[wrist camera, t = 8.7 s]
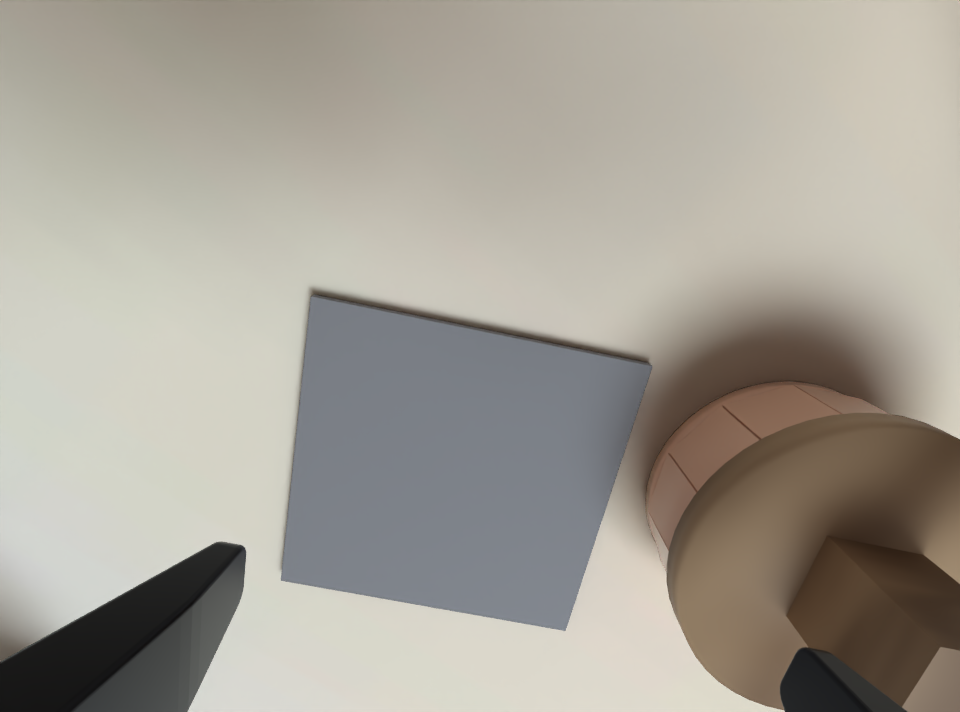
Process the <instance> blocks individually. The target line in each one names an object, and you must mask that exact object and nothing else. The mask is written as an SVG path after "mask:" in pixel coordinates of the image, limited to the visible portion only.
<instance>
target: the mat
mask: <svg viewBox="0 0 960 712" xmlns="http://www.w3.org/2000/svg"><path fill="white" fill-rule="evenodd" d="M651 369H652V365H651V364H650V363H646V362H642V361H637V360H632V359H627V358H622V357H617V356H612V355H607V354H603V353H598V352H593V351H588V350H583V349H578V348H573V347H568V346H564V345H559V344H554V343H549V342H544V341H539V340H534V339H529V338H524V337H520V336H515V335H510V334H505V333H500V332H495V331H490V330H485V329H481V328H476V327H471V326H466V325H461V324H456V323H451V322H446V321H442V320H437V319H432V318H427V317H422V316H417V315H412V314H407V313H402V312H398V311H393V310H388V309H383V308H378V307H373V306H368V305H363V304H359V303H354V302H349V301H344V300H339V299H334V298H329V297H324V296H320V295H313V296H311V300H310V310H309V319H308V329H307V338H306V348H305V357H304V366H303V376H302V385H301V395H300V404H299V414H298V423H297V433H296V442H295V452H294V461H293V470H292V480H291V489H290V499H289V508H288V518H287V527H286V537H285V546H284V556H283V565H282V574H281V581H286V582H292V583H298V584H303V585H309V586H315V587H320V588H326V589H332V590H337V591H343V592H349V593H354V594H360V595H366V596H371V597H377V598H383V599H388V600H394V601H400V602H405V603H411V604H416V605H422V606H428V607H433V608H439V609H445V610H450V611H456V612H462V613H467V614H473V615H479V616H484V617H490V618H496V619H501V620H507V621H513V622H518V623H524V624H529V625H535V626H541V627H546V628H552V629H558V630H563V631H566V628H567V625H568V621H569V618H570V615H571V612H572V609H573V606H574V603H575V600H576V597H577V594H578V591H579V588H580V585H581V582H582V579H583V576H584V573H585V570H586V567H587V564H588V561H589V558H590V555H591V552H592V549H593V546H594V543H595V540H596V536H597V533H598V530H599V527H600V524H601V521H602V518H603V515H604V512H605V509H606V506H607V503H608V500H609V497H610V494H611V491H612V488H613V485H614V482H615V479H616V476H617V473H618V470H619V467H620V464H621V461H622V458H623V454H624V451H625V448H626V445H627V442H628V439H629V436H630V433H631V430H632V427H633V424H634V421H635V418H636V415H637V412H638V409H639V406H640V403H641V400H642V397H643V394H644V391H645V388H646V385H647V382H648V379H649V376H650V373H651Z"/></svg>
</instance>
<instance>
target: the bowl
mask: <svg viewBox="0 0 960 712" xmlns="http://www.w3.org/2000/svg"><path fill="white" fill-rule="evenodd" d="M848 413H883V414H889V413H887V412H885V411H883V410H881V409H879V408H877V407H876V406H874V405H872V404H870V403H868V402H866V401H864V400H862V399H860V398H856V397H851V396H846V395H843V394H841V393H839V392H836V391H834V390H832V389H830V388H826V387H823V386H819V385H815V384H810V383H803V382H772V383H763V384H759V385H754V386H750V387H746V388H743V389H740V390H737V391H734V392H731V393H729V394H727V395H725V396H723V397H721V398H718V399H716V400H714V401H713V402H711V403H709V404H708V405H706V406H705V407H703V408H701V409H700V410H698V411H697V412H696V413H695V414H693V415H692V416H691V417H690V418H688V419H687V420H686V421H685V422H684V423H683V424H682V425H681V426H680V427H679V428H678V429H677V430H676V431H675V432H674V433H673V435H672V436H671V437H670V438H669V440H668V441H667V442H666V444H665V445H664V447H663V448H662V450H661V452H660V453H659V455H658V457H657V459H656V461H655V463H654V466H653V468H652V470H651V473H650V477H649V481H648V484H647V492H646V514H647V519H648V525H649V527H650V530H651V533H652V536H653V538H654V540H655V542H656V544H657V548H658V552H659V555H660V559H661V562H662V564H663V566H664V568H665V570H666V572H667V559H668V553H669V547H670V544H671V541H672V538H673V534H674V531H675V529H676V527H677V525H678V522H679V520H680V518H681V516H682V514H683V512H684V511H685V509H686V508H687V506H688V504H689V503H690V501H691V500H692V498H693V497H694V495H695V494H696V493H697V492H698V491H699V489H700V488H701V487H702V486H703V485H704V483H705V482H706V481H707V480H708V479H709V478H710V477H711V476H712V475H713V474H714V473H715V472H716V471H717V470H718V469H719V468H721V467H722V466H723V465H724V464H725V463H726V462H727V461H729V460H730V459H732V458H733V457H734V456H736V455H737V454H738V453H740V452H741V451H742V450H744V449H745V448H747V447H749V446H750V445H752V444H754V443H756V442H757V441H759V440H761V439H762V438H764V437H766V436H769V435H771V434H773V433H775V432H777V431H780V430H782V429H784V428H786V427H789V426H793V425H796V424H799V423H802V422H805V421H808V420H812V419H816V418H821V417H826V416H831V415H838V414H848ZM890 415H891V414H890Z"/></svg>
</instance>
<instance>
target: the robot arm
mask: <svg viewBox="0 0 960 712" xmlns="http://www.w3.org/2000/svg"><path fill="white" fill-rule="evenodd" d="M245 562H246V550H245V548H244V547H243V546H242V545H238V544H232V543H227V542H216V543H214V544H212V545H210V546H208V547H206V548H205V549H203V550H201V551H199V552H197V553H196V554H194V555H192V556H190V557H188V558H187V559H185V560H183V561H181V562H179V563H178V564H176V565H174V566H172V567H170V568H169V569H167V570H165V571H163V572H161V573H160V574H158V575H156V576H154V577H152V578H151V579H149V580H147V581H145V582H143V583H142V584H140V585H138V586H136V587H134V588H133V589H131V590H129V591H127V592H125V593H124V594H122V595H120V596H118V597H116V598H115V599H113V600H111V601H109V602H107V603H106V604H104V605H102V606H100V607H98V608H97V609H95V610H93V611H91V612H89V613H88V614H86V615H84V616H82V617H80V618H78V619H77V620H75V621H73V622H71V623H69V624H68V625H66V626H64V627H62V628H60V629H59V630H57V631H55V632H53V633H51V634H50V635H48V636H46V637H44V638H42V639H41V640H39V641H37V642H35V643H33V644H32V645H30V646H28V647H26V648H24V649H23V650H21V651H19V652H17V653H15V654H14V655H12V656H10V657H8V658H6V659H5V660H3V661H1V662H0V712H187V711H188V709H189V707H190V705H191V703H192V701H193V699H194V697H195V695H196V693H197V691H198V689H199V687H200V685H201V683H202V681H203V678H204V676H205V674H206V672H207V670H208V668H209V666H210V664H211V662H212V659H213V657H214V655H215V653H216V651H217V649H218V647H219V645H220V643H221V640H222V638H223V636H224V634H225V632H226V630H227V628H228V626H229V624H230V621H231V619H232V617H233V615H234V613H235V611H236V609H237V607H238V604H239V602H240V599H241V596H242V592H243V587H244V574H245ZM780 698H781V702H782V704H783V707H784V710H785V712H908V711H906V710H905V709H904V708H902V707H901V706H900V705H898V704H897V703H896V702H895V701H893V700H892V699H891V698H889V697H888V696H887V695H885V694H884V693H883V692H881V691H880V690H879V689H878V688H876V687H875V686H874V685H872V684H871V683H870V682H868V681H867V680H866V679H864V678H863V677H862V676H861V675H859V674H858V673H857V672H855V671H854V670H853V669H851V668H850V667H849V666H847V665H846V664H845V663H844V662H842V661H841V660H840V659H838V658H837V657H836V656H834V655H833V654H832V653H830V652H828V651H825V650H820V649H814V648H809V647H802V648H800V649H799V650H797V652H796V653H795V655H794V657H793V659H792V661H791V663H790V665H789V667H788V669H787V671H786V673H785V675H784V677H783V678H782V680H781V683H780Z"/></svg>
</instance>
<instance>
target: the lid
mask: <svg viewBox="0 0 960 712" xmlns="http://www.w3.org/2000/svg"><path fill="white" fill-rule="evenodd" d="M667 587H668V593H669V599H670V601H671V604H672V607H673V610H674V613H675V615H676V618H677V620H678V622H679V624H680V626H681V629H682V631H683V633H684V635H685V637H686V640H687V642H688V644H689V645H690V647H691V649H692V651H693V653H694V655H695V656H696V658H697V659H698V660H699V662H700V663H701V664H702V665H703V667H704V668H705V669H706V670H707V671H708V672H709V673H710V674H711V675H712V676H713V677H714V678H715V679H716V680H717V681H719V682H720V683H721V684H723V685H724V686H726V687H727V688H729V689H730V690H732V691H733V692H735V693H737V694H739V695H741V696H743V697H745V698H747V699H749V700H751V701H754V702H757V703H760V704H762V705H765V706H768V707H773V708H777V709H781V710H784V707H783V704H782V702H781V698H780V683H781V680H782V678H783V677H784V675H785V673H786V671H787V669H788V667H789V665H790V663H791V661H792V659H793V657H794V655H795V653H796V652H797V650H799V649H800V648H802V647H809V648H814V649H820V650H825V651H828V652H830V653H832V654H833V655H834V656H836V657H837V658H838V659H840V660H841V661H842V662H844V663H845V664H846V665H847V666H849V667H850V668H851V669H853V670H854V671H855V672H857V673H858V674H859V675H861V676H862V677H863V678H864V679H866V680H867V681H868V682H870V683H871V684H872V685H874V686H875V687H876V688H878V689H879V690H880V691H881V692H883V693H884V694H885V695H887V696H888V697H889V698H891V699H892V700H893V701H895V702H896V703H897V704H898V705H900V706H901V707H902V708H904V709H905V710H906V711H908V712H960V439H958V438H956V437H954V436H952V435H950V434H948V433H946V432H944V431H942V430H940V429H937V428H935V427H933V426H931V425H929V424H926V423H924V422H921V421H917V420H914V419H910V418H907V417H903V416H897V415H890V414H883V413H848V414H838V415H831V416H826V417H821V418H816V419H812V420H808V421H805V422H802V423H799V424H796V425H793V426H789V427H786V428H784V429H782V430H780V431H777V432H775V433H773V434H771V435H769V436H766V437H764V438H762V439H761V440H759V441H757V442H756V443H754V444H752V445H750V446H749V447H747V448H745V449H744V450H742V451H741V452H740V453H738V454H737V455H736V456H734V457H733V458H732V459H730V460H729V461H727V462H726V463H725V464H724V465H723V466H722V467H721V468H719V469H718V470H717V471H716V472H715V473H714V474H713V475H712V476H711V477H710V478H709V479H708V480H707V481H706V482H705V483H704V485H703V486H702V487H701V488H700V489H699V491H698V492H697V493H696V494H695V495H694V497H693V498H692V500H691V501H690V503H689V504H688V506H687V508H686V509H685V511H684V512H683V514H682V516H681V518H680V520H679V522H678V525H677V527H676V529H675V531H674V534H673V538H672V541H671V544H670V547H669V553H668V559H667Z"/></svg>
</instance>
